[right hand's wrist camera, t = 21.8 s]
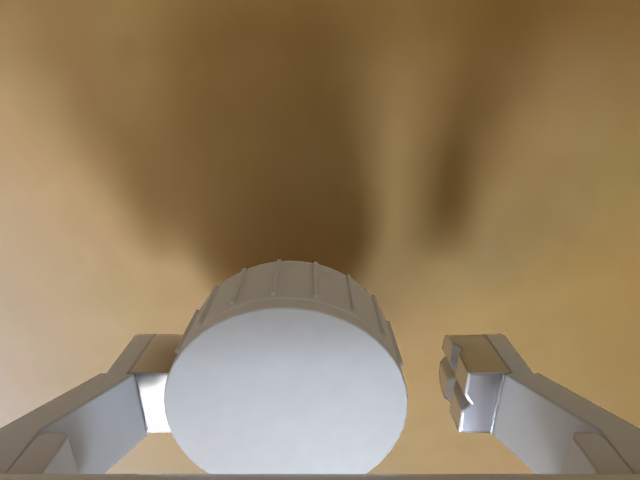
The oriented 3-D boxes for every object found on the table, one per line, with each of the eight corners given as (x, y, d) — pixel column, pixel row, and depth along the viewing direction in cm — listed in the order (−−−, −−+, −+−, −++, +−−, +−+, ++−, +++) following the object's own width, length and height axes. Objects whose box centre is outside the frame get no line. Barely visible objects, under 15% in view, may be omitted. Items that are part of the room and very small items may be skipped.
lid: (399, 255, 10) (423, 302, 8) (386, 422, 12) (402, 496, 10) (178, 257, 10) (140, 305, 8) (203, 425, 12) (179, 500, 10)
